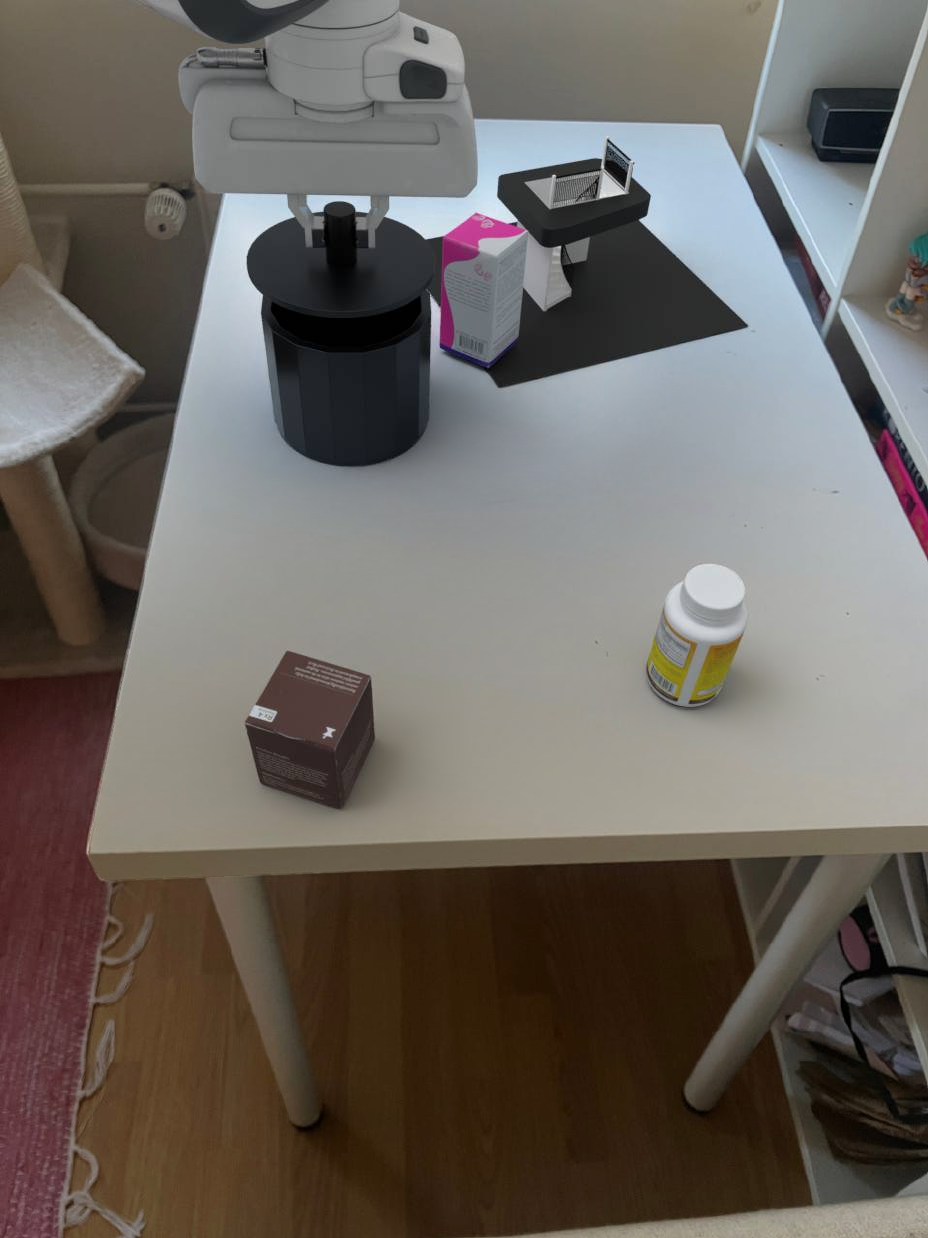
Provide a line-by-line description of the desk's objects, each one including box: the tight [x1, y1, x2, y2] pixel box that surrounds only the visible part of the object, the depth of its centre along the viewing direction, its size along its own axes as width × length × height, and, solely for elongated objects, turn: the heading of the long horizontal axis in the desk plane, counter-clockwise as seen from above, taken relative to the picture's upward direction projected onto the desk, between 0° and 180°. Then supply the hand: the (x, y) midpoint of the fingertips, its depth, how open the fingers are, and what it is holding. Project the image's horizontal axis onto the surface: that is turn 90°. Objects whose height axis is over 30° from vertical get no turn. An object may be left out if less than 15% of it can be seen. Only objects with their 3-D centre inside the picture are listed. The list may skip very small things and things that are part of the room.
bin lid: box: [246, 200, 435, 318], centre depth 77 cm, size 15×15×5 cm
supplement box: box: [438, 212, 528, 368], centre depth 92 cm, size 6×6×12 cm
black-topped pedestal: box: [424, 135, 749, 388], centre depth 100 cm, size 28×26×13 cm
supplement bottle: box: [645, 563, 749, 708], centre depth 69 cm, size 6×6×10 cm
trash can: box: [260, 289, 432, 467], centre depth 86 cm, size 14×14×12 cm
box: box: [244, 650, 376, 810], centre depth 64 cm, size 6×6×7 cm
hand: (341, 244), depth 77 cm, fingers closed on bin lid, 2 cm apart
